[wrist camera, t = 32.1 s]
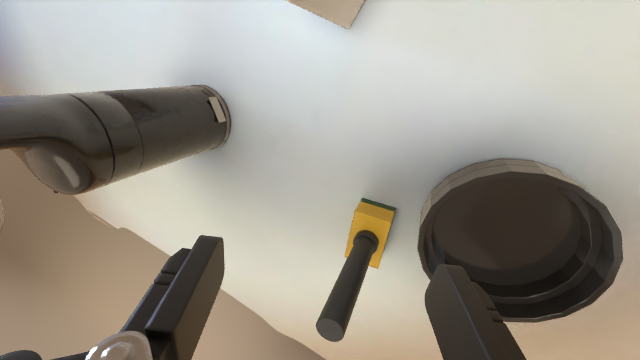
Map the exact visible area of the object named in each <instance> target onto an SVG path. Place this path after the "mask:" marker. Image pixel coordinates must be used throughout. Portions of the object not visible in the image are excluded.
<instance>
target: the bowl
mask: <svg viewBox="0 0 640 360" xmlns="http://www.w3.org/2000/svg"><path fill="white" fill-rule="evenodd" d="M418 252H419V256H420V260H421V264H422V268H423V270H424V271H425V273H426V274H427V276H428V277H429V279H430V280H431V279H432V277H433V275H434V272H435V270H436V268H437V266H438V265H439V264H447V265H455V266H461V267H463V268H464V270H465V271H466V273H467V275H468V277H469V278H470V280H471V282H476V283H477V284H478V285H479V286H480V287H481V288H482V289H483V290H484V291H485V292H486V293H487V294H488V295H489V297H490V299H491V300H492V302H493V304H494V305H495V307H496V311H498V312H499V314H500V316H501V317H502V319H503V321H504V322H532V323H535V322H542V321H547V320H552V319H556V318H561V317H565V316H568V315H570V314H572V313H574V312H576V311H578V310H580V309H582V308H584V307H586V306H588V305H590V304H592V303H594V302H595V301H596V300H597V299H598V298H599V297H600V296H601V295H602V294H603V293H604V292H605V291H606V290H607V289H608V288H609V287H610V286H611V285H612V284H613V282H614V280H615V277H616V275H617V272H618V270H619V268H620V265H621V263H622V260H623V252H622V238H621V231H620V229H619V228H618V226H617V224H616V223H615V221H614V219H613V217H612V216H611V214H610V212H609V211H608V209H607V207H606V206H605V205H604V204H602V203H601V202H600V201H599V200H597V199H596V198H595V197H594V196H592V195H591V194H590V193H589V192H587V191H586V190H585V189H584V188H582V187H581V186H580V185H578V184H577V183H576V182H575V181H573V180H572V179H571V178H569V177H568V176H567V175H565V174H564V173H563V172H561V171H559V170H557V169H554V168H551V167H548V166H545V165H543V164H540V163H537V162H534V161H527V160H513V159H497V160H492V161H487V162H481V163H476V164H472V165H470V166H468V167H466V168H464V169H462V170H460V171H458V172H456V173H454V174H452V175H450V176H448V177H447V178H446V179H445V180H444V181H443V182H442V183H441V184H439V185H438V186H437V187H436V188H435V189H434V190H433V191H432V192H431V194H430V196H429V198H428V200H427V202H426V203H425V205H424V207H423V209H422V212H421V221H420V229H419V239H418Z"/></svg>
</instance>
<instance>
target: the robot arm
mask: <svg viewBox="0 0 640 360" xmlns="http://www.w3.org/2000/svg"><path fill="white" fill-rule="evenodd" d="M229 132H230V116H229V112H228V109H227V107H226V104H225V103H224V101H223V99H222V98H221V97H220V96H219V94H218V93H216V92H215V91H214V90H213V89H211V88H209V87H207V86H204V85H191V86H183V87H164V88H148V89H132V90H115V91H99V92H85V93H68V94H53V95H31V96H0V150H3V149H10V150H11V151H12V152H13V153H14V154H15V155H16V156H18V158H19V159H20V160H21V161H22V162H23V163H24V164H25V165H26V166H27V168H28V169H29V170H30V171H31V172H32V173H33V174H34V175H35V176H36V177H37V178H38V179H39V180H40V181H41V182H42V183H44V184H45V185H47V186H48V187H50V188H51V189H53V190H54V192H55V193H58V192H60V193H63V194H68V195H76V194H81V193H85V192H88V191H91V190H94V189H97V188H100V187H102V186H105V185H108V184H111V183H114V182H116V181H119V180H122V179H125V178H128V177H131V176H133V175H136V174H139V173H142V172H145V171H148V170H151V169H154V168H157V167H160V166H163V165H165V164H168V163H171V162H174V161H177V160H180V159H183V158H186V157H189V156H192V155H195V154H198V153H201V152H204V151H207V150H210V149H214V148H217V147H219V146H221V145H222V144H223V143H224V142H225V141H226V139H227V138H228V135H229ZM3 225H4V210H3V206H2V202H1V199H0V232H1V230H2V228H3ZM223 276H224V243H223V238H221V237H213V236H204V235H201V236H199V238H198V239H197V241H196V243H195V244H194V246H193V248H192V249H186V248H182V249H181V250H179V251H178V252H177V253H175V254H174V255H173V256H171V257H170V258H169V259H168V261H167V262H166V264H165V265H164V267H163V268H162V270H161V273H159V274H158V276H157V277H156V279H155V280H154V283H153V284H152V285H151V287H150V288H149V289H148V291H147V292H146V294H145V295H144V297H143V298H142V300H141V301H140V303H139V305H138V306H137V307H136V309H135V310H134V312H133V313H132V315H131V316H130V318H129V319H128V321H127V322H126V324H125V325H124V327H123V328H122V329H121V330H120V332H118V333H117V334H114V335H112V336H110V337H108V338H106V339H104V340H103V341H102V342H100V343H99V344H98V345H97V346H95V347H94V348H93V349H92V350H91V351H88V352H84V353H81V354H76V355H71V356H66V357H61V358H57V359H52V360H191V358H192V356H193V353H194V351H195V349H196V346H197V343H198V341H199V339H200V336H201V334H202V331H203V328H204V326H205V323H206V321H207V319H208V316H209V314H210V311H211V308H212V306H213V304H214V301H215V299H216V296H217V293H218V291H219V289H220V286H221V284H222V280H223ZM425 306H426V310H427V313H428V316H429V319H430V322H431V324H432V327H433V330H434V333H435V336H436V339H437V342H438V345H439V348H440V351H441V353H442V356H443V359H444V360H526V358H525V356H524V355H523V353H522V351H521V349H520V348H519V346H518V344H517V343H516V341H515V339H514V338H513V336H512V334H511V332H510V331H509V329H508V327H507V326H506V324H505V323H503V319H502V317H501V316H500V314H499V312H498V311H496V307H495V305H494V304H493V302H492V300H491V299H490V297H489V295H488V294H487V293H486V292H485V291H484V290H483V289H482V288H481V287H480V286H479V285H478V284H477V283H476V282H471V280H470V278H469V277H468V275H467V273H466V271H465V270H464V268H463V267H461V266H455V265H447V264H439V265H438V266H437V268H436V270H435V272H434V275H433V277H432V279H431V281H430V283H429V285H428V288H427V290H426V293H425ZM0 360H42V359H41V357H40V356H39V354H37V353H36V352H33V351H29V350H20V351H15V352H11V353H7V354H5V355H2V356H0Z"/></svg>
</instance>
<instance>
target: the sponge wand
mask: <svg viewBox="0 0 640 360" xmlns="http://www.w3.org/2000/svg"><path fill="white" fill-rule="evenodd" d="M395 210H396V208H393V207H390V206H386V205H383V204H380V203H376V202H373V201H370V200H366V199H363V198H362V200H361V201H360V203H359V205H358V207H357V208H356V210H355V213H354V217H353V221H352V226H351V230H350V235H349V239H348V243H347V248H346V252H345V257H347V260H346V262H345V264H344V266H343V268H342V270H341V273H340V275H339V277H338V279H337V281H336V283H335V285H334V287H333V289H332V291H331V294H330V296H329V298H328V300H327V302H326V304H325V306H324V308H323V310H322V312H321V314H320V317H319V319H318V321H317V323H316V328H317V331H318V332H319V334H320V335H321V336H322V337H323V338H325V339H327V340H329V341H332V342H337V341H340V340H342V339H343V337H344V334H345V331H346V329H347V326H348V323H349V320H350V317H351V314H352V311H353V308H354V306H355V303H356V300H357V297H358V294H359V291H360V288H361V286H362V283H363V280H364V277H365V274H366V271H367V268H368V266H371V267H374V268H377V269H378V267H379V264H380V261H381V257H382V254H383V250H384V247H385V244H386V240H387V237H388V233H389V230H390V227H391V223H392V220H393V216H394V213H395Z"/></svg>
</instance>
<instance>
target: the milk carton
mask: <svg viewBox="0 0 640 360" xmlns="http://www.w3.org/2000/svg"><path fill="white" fill-rule="evenodd" d="M286 1H288V2H291V3H293V4H295V5H297V6H299V7H301V8H303V9H305V10H308V11H310V12H312V13H314V14H316V15H318V16H320V17H322V18H325V19H327V20H329V21H331V22H333V23H335V24H337V25H340V26H342V27H344V28H346V29H349V27H350V26H351V24H352V22H353V21H354V19H355V17H356V15H357V13H358V12H359V10H360V8H361V6H362V4H363V3H364V1H365V0H286Z"/></svg>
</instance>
